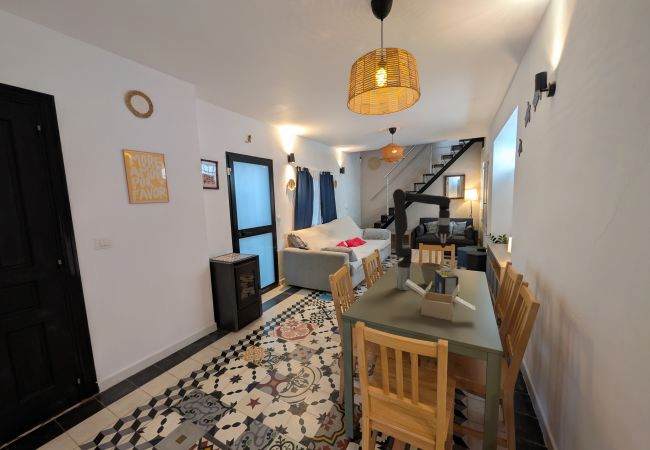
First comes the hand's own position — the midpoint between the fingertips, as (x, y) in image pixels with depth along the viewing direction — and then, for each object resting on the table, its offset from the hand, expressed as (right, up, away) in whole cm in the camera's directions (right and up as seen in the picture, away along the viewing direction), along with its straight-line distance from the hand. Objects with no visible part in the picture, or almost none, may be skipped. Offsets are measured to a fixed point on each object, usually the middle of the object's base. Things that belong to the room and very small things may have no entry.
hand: (443, 247), depth 183 cm
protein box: (-1, -33, -5) cm, 33 cm away
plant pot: (-3, -31, +16) cm, 35 cm away
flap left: (-24, -23, -31) cm, 45 cm away
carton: (-19, -36, -33) cm, 52 cm away
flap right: (-11, -22, -38) cm, 46 cm away
